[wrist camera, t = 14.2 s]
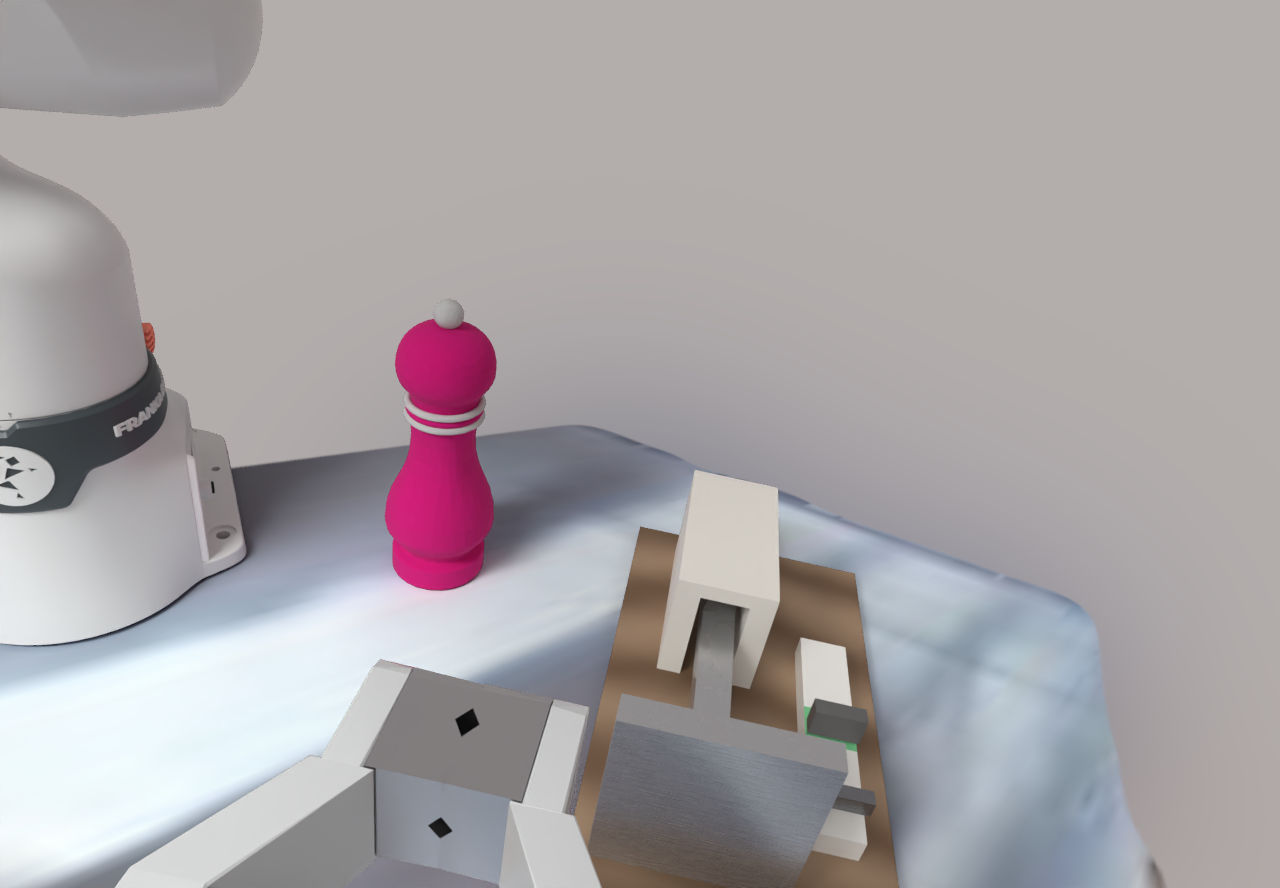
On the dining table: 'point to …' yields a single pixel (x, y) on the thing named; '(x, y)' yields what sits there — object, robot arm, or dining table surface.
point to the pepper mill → (442, 452)
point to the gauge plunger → (716, 781)
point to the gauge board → (741, 699)
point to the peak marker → (837, 721)
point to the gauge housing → (725, 568)
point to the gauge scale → (828, 680)
